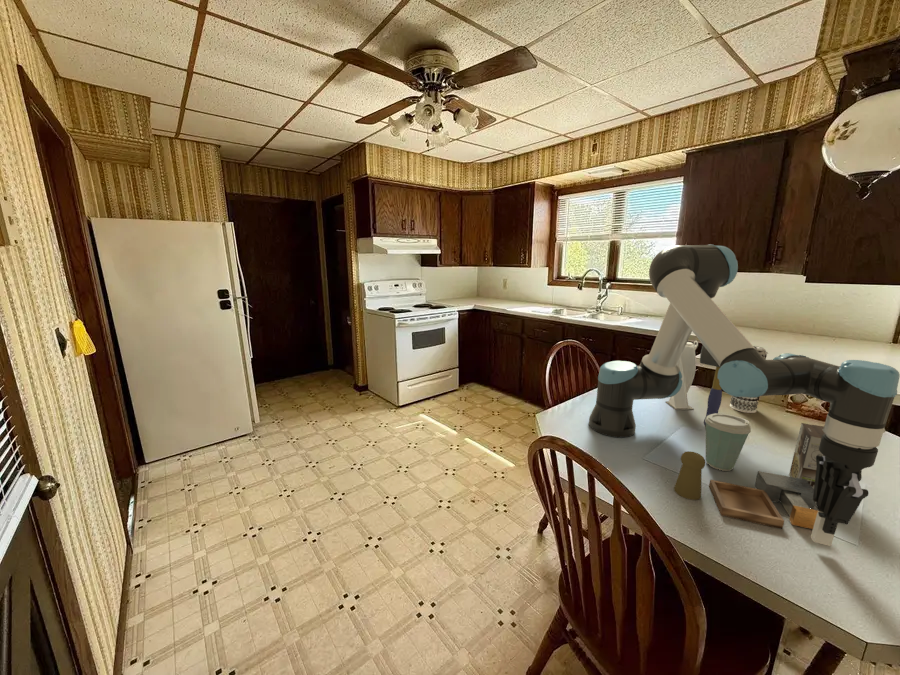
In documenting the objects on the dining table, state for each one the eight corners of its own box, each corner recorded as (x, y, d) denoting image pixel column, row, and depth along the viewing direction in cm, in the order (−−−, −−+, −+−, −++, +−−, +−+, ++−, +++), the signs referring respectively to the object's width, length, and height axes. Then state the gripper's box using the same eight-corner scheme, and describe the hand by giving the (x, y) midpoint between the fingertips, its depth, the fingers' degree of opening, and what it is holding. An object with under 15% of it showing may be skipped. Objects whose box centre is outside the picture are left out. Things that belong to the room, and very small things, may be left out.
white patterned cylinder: (735, 412, 142) (748, 349, 136) (723, 402, 150) (735, 343, 144) (762, 414, 140) (776, 351, 134) (749, 404, 148) (761, 344, 143)
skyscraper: (695, 411, 142) (707, 341, 136) (674, 411, 143) (685, 341, 136) (682, 402, 151) (693, 336, 144) (662, 402, 151) (672, 336, 144)
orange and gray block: (792, 524, 84) (796, 509, 83) (772, 494, 94) (775, 480, 93) (817, 530, 82) (821, 515, 81) (793, 498, 93) (797, 484, 92)
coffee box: (830, 500, 92) (846, 442, 88) (795, 492, 96) (810, 435, 92) (819, 481, 100) (833, 427, 96) (787, 474, 103) (800, 421, 99)
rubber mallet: (731, 428, 129) (747, 346, 122) (731, 437, 123) (749, 351, 116) (689, 419, 136) (702, 340, 129) (687, 426, 130) (701, 345, 123)
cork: (668, 485, 98) (674, 448, 96) (689, 484, 99) (696, 447, 96) (684, 500, 92) (691, 461, 90) (707, 499, 93) (714, 460, 90)
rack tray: (720, 515, 87) (722, 507, 87) (708, 486, 98) (710, 479, 97) (782, 529, 83) (784, 521, 82) (762, 497, 93) (764, 490, 93)
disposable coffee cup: (691, 463, 108) (699, 416, 105) (705, 451, 115) (713, 406, 111) (734, 480, 100) (745, 430, 97) (747, 466, 107) (757, 419, 103)
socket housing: (763, 499, 93) (766, 484, 92) (754, 485, 98) (758, 470, 97) (813, 510, 89) (817, 493, 88) (801, 495, 94) (805, 479, 93)
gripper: (900, 461, 64) (864, 572, 70) (855, 428, 76) (827, 525, 81) (843, 452, 67) (813, 559, 73) (808, 422, 79) (784, 516, 84)
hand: (820, 541), depth 77 cm, fingers closed
